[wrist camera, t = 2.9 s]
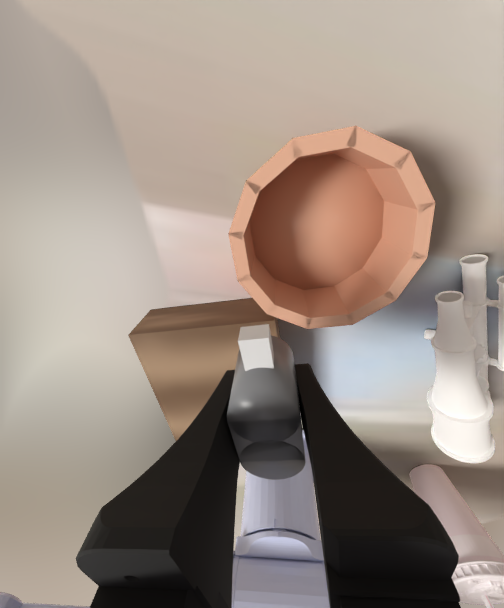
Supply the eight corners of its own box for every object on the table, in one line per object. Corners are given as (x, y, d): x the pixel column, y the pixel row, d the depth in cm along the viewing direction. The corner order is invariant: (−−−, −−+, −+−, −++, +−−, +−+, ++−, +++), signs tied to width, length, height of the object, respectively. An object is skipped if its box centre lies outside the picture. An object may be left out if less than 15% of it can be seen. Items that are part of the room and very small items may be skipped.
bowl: (386, 286, 20) (418, 318, 16) (253, 301, 22) (248, 334, 17) (399, 125, 15) (450, 107, 11) (228, 158, 17) (212, 153, 12)
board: (289, 406, 27) (291, 441, 23) (189, 411, 28) (178, 445, 25) (274, 295, 21) (274, 320, 18) (150, 309, 23) (128, 335, 19)
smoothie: (392, 487, 32) (467, 685, 20) (403, 455, 29) (499, 665, 17) (446, 489, 32) (559, 695, 19) (463, 457, 29) (608, 676, 16)
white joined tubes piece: (431, 254, 21) (527, 250, 16) (445, 378, 26) (519, 399, 22) (386, 309, 17) (496, 322, 13) (413, 440, 23) (496, 478, 18)
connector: (300, 410, 14) (307, 479, 11) (251, 413, 14) (246, 480, 11) (287, 306, 11) (292, 359, 8) (227, 313, 11) (209, 366, 8)
